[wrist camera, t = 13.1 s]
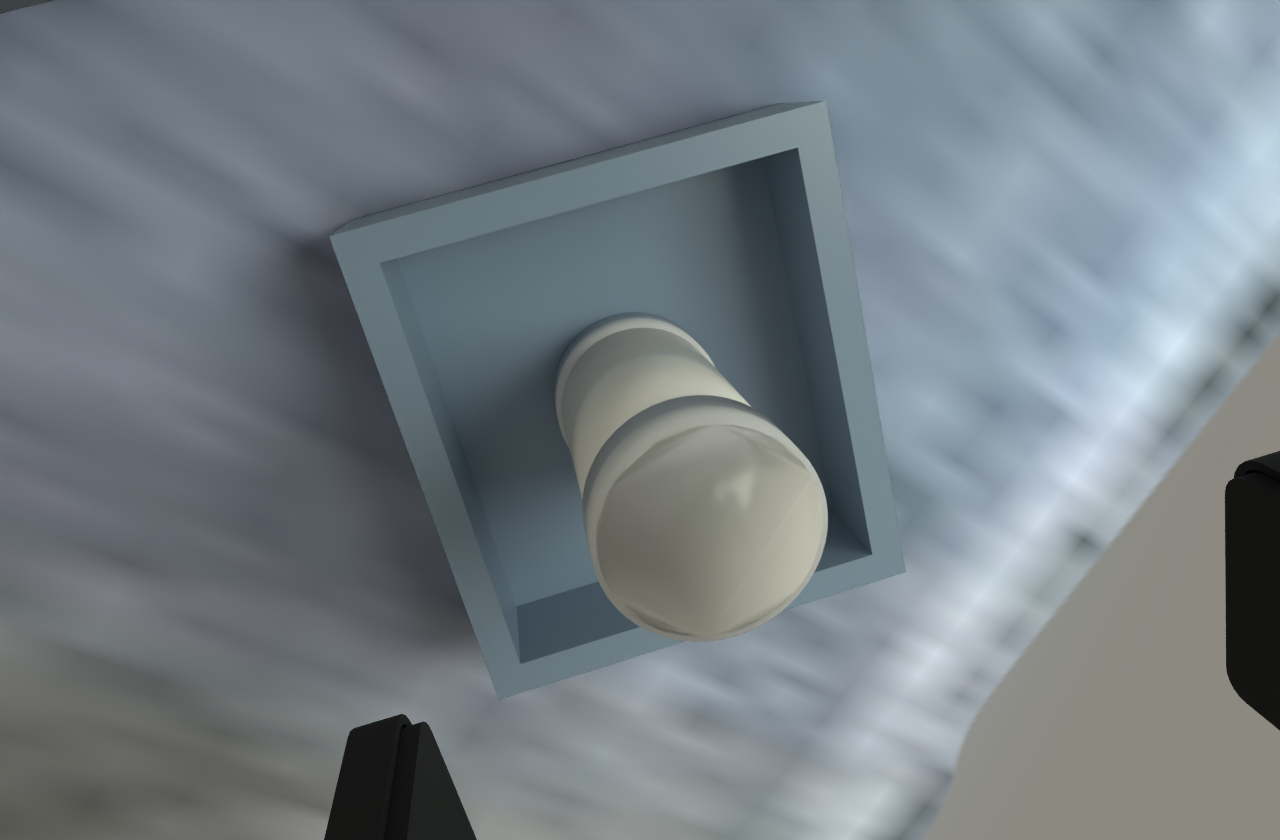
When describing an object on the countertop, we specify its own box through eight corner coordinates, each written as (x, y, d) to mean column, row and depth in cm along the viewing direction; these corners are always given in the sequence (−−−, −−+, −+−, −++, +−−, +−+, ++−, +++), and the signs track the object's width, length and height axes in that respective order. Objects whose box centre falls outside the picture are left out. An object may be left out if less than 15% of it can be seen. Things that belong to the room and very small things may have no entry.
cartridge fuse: (690, 292, 24) (804, 388, 15) (724, 439, 25) (846, 601, 17) (534, 337, 23) (560, 459, 15) (577, 483, 25) (624, 670, 16)
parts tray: (777, 103, 23) (826, 100, 20) (854, 517, 27) (906, 572, 24) (351, 219, 22) (328, 236, 19) (497, 627, 26) (499, 699, 23)
